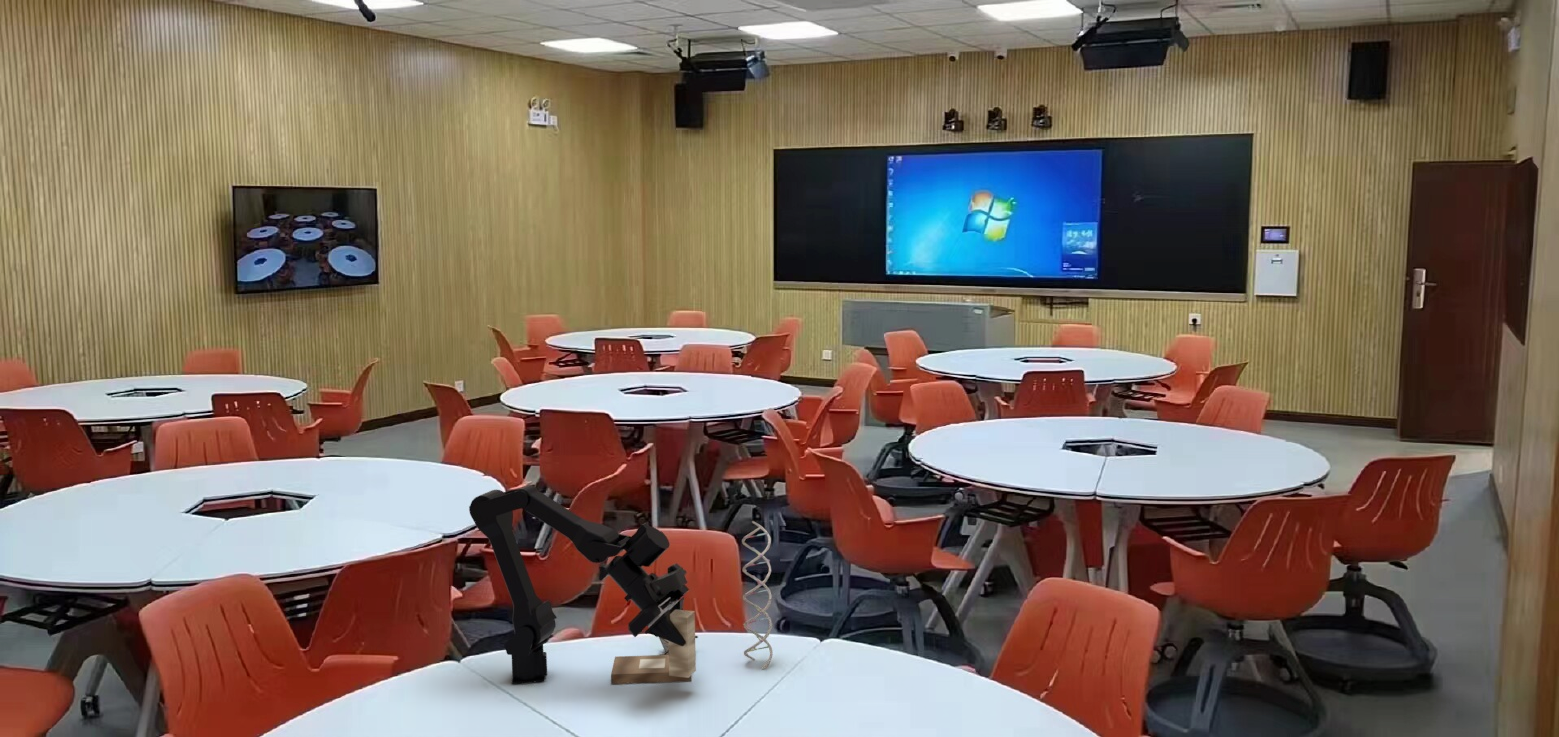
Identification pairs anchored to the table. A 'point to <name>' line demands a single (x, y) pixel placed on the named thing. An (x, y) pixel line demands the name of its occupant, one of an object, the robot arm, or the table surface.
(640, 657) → the walnut slab
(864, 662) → the table surface
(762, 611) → the dna model
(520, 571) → the robot arm
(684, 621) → the maple pillar
